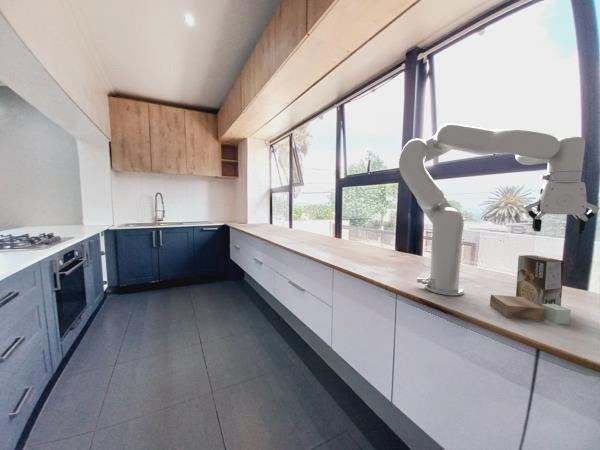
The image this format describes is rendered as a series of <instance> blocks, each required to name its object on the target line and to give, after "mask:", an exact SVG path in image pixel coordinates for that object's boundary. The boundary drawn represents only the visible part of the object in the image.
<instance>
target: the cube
mask: <svg viewBox="0 0 600 450" xmlns="http://www.w3.org/2000/svg"><path fill="white" fill-rule="evenodd" d="M542 307H543V308H545V316H544V320H546V321H548V322H550V323H553V324H556V325H558V324H562V325H563V324H570V321H571V320H570V319H571V311H572V310H571V309H570V308H568V307H565V306H564V307H563V306H562V305H561V306H559V305H556V304H542Z"/></svg>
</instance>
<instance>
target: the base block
mask: <svg viewBox="0 0 600 450" xmlns="http://www.w3.org/2000/svg"><path fill="white" fill-rule="evenodd" d="M489 306H490V307H491V308H493V309H494V310H495V311H496V312H498V313H500V314H501V315H502V316H504V317H505V318H506V319H515V320H516V319H517V320H525V321H536V322H545V319H544V316H545V308H543V307H541V306H539V305H537V304H535V303H533V302H532V301H530V300H528V299H526V298H524V297H516V295H515V296H512V295H500V294H490V300H489Z"/></svg>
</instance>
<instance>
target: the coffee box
mask: <svg viewBox="0 0 600 450" xmlns="http://www.w3.org/2000/svg"><path fill="white" fill-rule="evenodd" d="M517 258H518V259H517V274H516V290H515V291H516V292H515V297H524V298H526V299H528V300H530V301H532V302H533V303H535V304H537V305H539V306H541V307H542V304H556V305H559V306H562V296H563V295H562V293H563V282H564V273H565V271H564V270H565V260H560V259H556V258H551V257H546V256H541V255H535V254H534V255H531V254H527V255H525V254H524V255H518V257H517Z"/></svg>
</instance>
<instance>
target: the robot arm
mask: <svg viewBox="0 0 600 450" xmlns="http://www.w3.org/2000/svg"><path fill="white" fill-rule="evenodd" d="M585 148H586V139H585V138H584V137H582V136H569V137H562V138H561V137H560V138H559V139H558V138H557V137H555V136H553V135H552V134H548V133H544V132H543V133H542V132H539V131H537V132H536V131H532V130H531V131H530V130H525V129H524V130H523V129H490V128H489V129H488V128H482V127H477V126H469V125H464V124H457V123H445V124H442V126H440V127H439V128H438V129H437V131H436V133H435V135H433V136H432V137H429V138H428V139H425V140H424V139H421V138H412V139H410V140H408V142H407V143H406V144H404V146H403V148H402V150H401V152H400V155H399V159H398V168H399V173H400V175H401V177H402V179H403V180H404V182H405V184H406V186H407V187H408V188H409V190H410V192H411V193H412V194H413V195H414V198H415V199H416V202H417V204H418V206H419V207H420V208H421V210H422V211H423V213H424V214H425V215H426V217H427V218H428V220H429V221H430V222H431V224H432V234H431V254H430V273H429V275H427V277H424V278H423V277H416V283H418V284H422V285H424V288H425V289H426V290H427V291H429V292H432V293H435V294H439V295H444V296H454V297H455V296H457V297H458V296H462V295H463V294H464V290H463V288H461V287H460V286H459V285H460V267H461V254H462V251H461V250H462V239H463V231H464V224H465V223H464V216H463V215H462V213H461V212H460V211H459V210H457V208H456V209H455V208H454V207H452V205H451V204H450V203H449V201H448V200H447V198H446V197H445V194H444V191H443V189H442V188H440V186H439V185H438V184H437V183H436V181H435V179H433V177H432V176H431V175H430V173H429V171H428V170H427V168H426V166H425V165H424V164H426V163H428V162H429V161H431V160H434V159H436V158H438V157H440V156H442V155H445V154H446V153H449V152H450V151H452V150H453V151H459V152H464V153H469V154H473V155H478V156H481V155H482V156H485V155H493V154H506V155H514V156H515V160H516V161H517V163H519V164H521V165H523V166H524V165H526V166H534V165H539V164H541V165H542V164H547V166H546V167H547V169H546V174H544V175H542V174H541V176H540V180H542V181H543V180H544V183H542V186H541V189H540V191H539V194H538V199H537V200H536V201H534V202H531V203H528V204H526V205H524V206H523V209H524V211H525V212H526V214H527V215H528V216H529V217H530V218H531V219H532V226H531V228H532V229H533V232H542V223H543V219H541V218H542V217H543V216H545V215H572V216H573V217H574V218H575V219H576V220H574V222H573V230H572V233H573V234H578V235H582V234H583V232H584V231H585V227H586V222H587V221H588V220H589V219H591V218H592V217H594V216H595V214H596V213H597V212H598V211H599V210H600V207H599V206H597V205H595V204H592V203H590V202H588V201H587V200H588V199H587V187H586V183H585V182H584V181H582V176H583V175H582V174H583V165H584V157H585V150H586V149H585ZM535 207H536V212H535V211H533V208H535ZM587 209H588V212H586V211H587Z"/></svg>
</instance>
